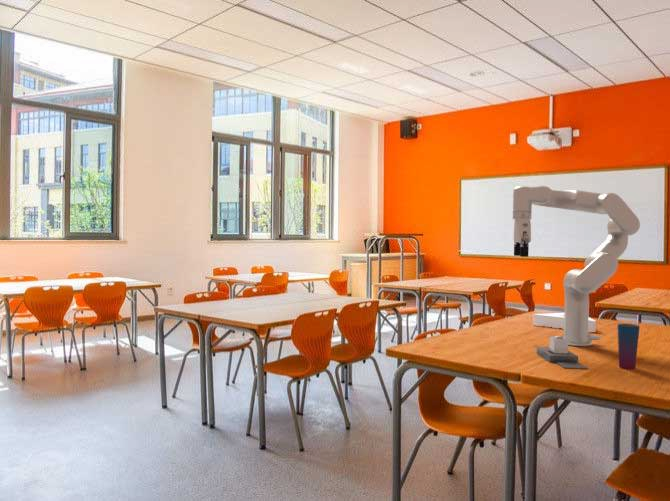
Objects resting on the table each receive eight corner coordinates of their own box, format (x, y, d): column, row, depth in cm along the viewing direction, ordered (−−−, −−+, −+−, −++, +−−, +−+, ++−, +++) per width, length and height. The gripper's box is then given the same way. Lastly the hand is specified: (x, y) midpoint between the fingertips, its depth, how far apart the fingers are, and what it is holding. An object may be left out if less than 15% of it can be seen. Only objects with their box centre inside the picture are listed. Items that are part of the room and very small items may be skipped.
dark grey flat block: (562, 354, 215) (563, 347, 215) (577, 363, 200) (578, 355, 200) (536, 353, 216) (536, 346, 216) (549, 362, 201) (549, 354, 201)
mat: (578, 363, 199) (578, 362, 199) (587, 369, 191) (587, 368, 191) (556, 363, 200) (556, 361, 200) (564, 368, 192) (564, 367, 192)
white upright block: (562, 358, 208) (563, 335, 208) (567, 361, 203) (568, 337, 203) (549, 357, 209) (549, 334, 208) (553, 360, 204) (554, 337, 203)
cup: (612, 365, 198) (613, 323, 197) (630, 365, 198) (631, 323, 198) (623, 370, 191) (625, 326, 190) (642, 370, 191) (643, 326, 191)
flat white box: (532, 326, 284) (533, 314, 283) (550, 320, 303) (551, 309, 303) (595, 334, 264) (595, 321, 264) (610, 327, 284) (610, 315, 284)
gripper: (537, 215, 227) (536, 257, 228) (525, 216, 244) (524, 255, 245) (518, 215, 228) (517, 256, 228) (507, 216, 245) (506, 255, 245)
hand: (520, 256), depth 237 cm, fingers open, 9 cm apart
